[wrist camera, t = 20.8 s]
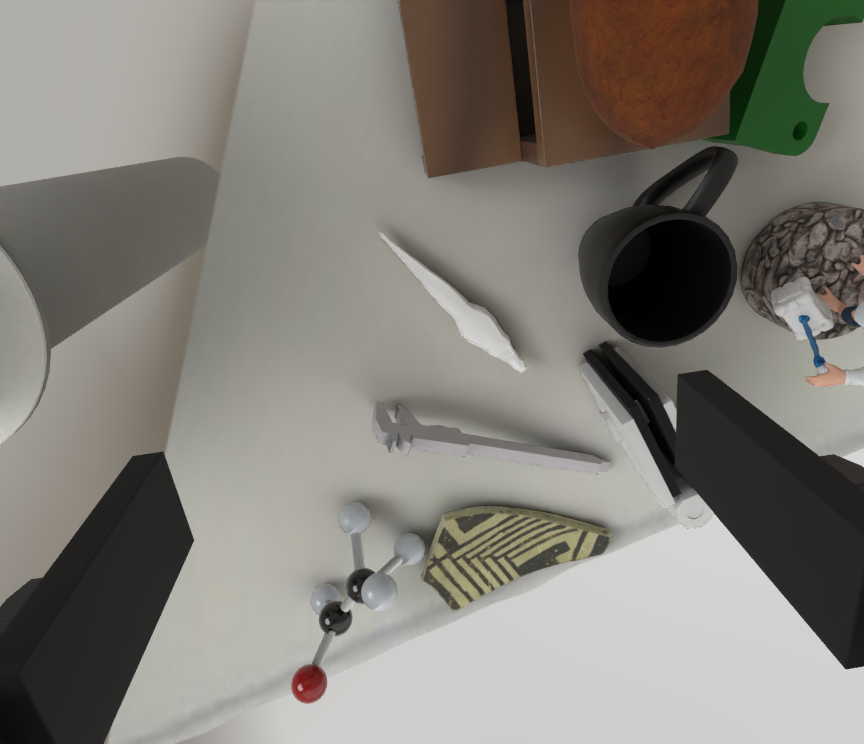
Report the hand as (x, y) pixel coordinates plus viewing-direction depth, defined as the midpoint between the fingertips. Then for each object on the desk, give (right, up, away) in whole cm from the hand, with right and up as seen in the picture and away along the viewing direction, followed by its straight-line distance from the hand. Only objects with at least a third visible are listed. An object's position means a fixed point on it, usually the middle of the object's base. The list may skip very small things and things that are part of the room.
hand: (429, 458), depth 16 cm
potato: (+9, +19, +15) cm, 26 cm away
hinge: (+17, -1, +34) cm, 38 cm away
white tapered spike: (+2, +8, +30) cm, 31 cm away
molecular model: (-7, -14, +38) cm, 41 cm away
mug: (+14, +13, +29) cm, 34 cm away
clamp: (+21, +23, +25) cm, 40 cm away
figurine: (+28, +10, +30) cm, 43 cm away
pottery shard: (+7, -14, +39) cm, 42 cm away
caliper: (+5, -3, +35) cm, 35 cm away
